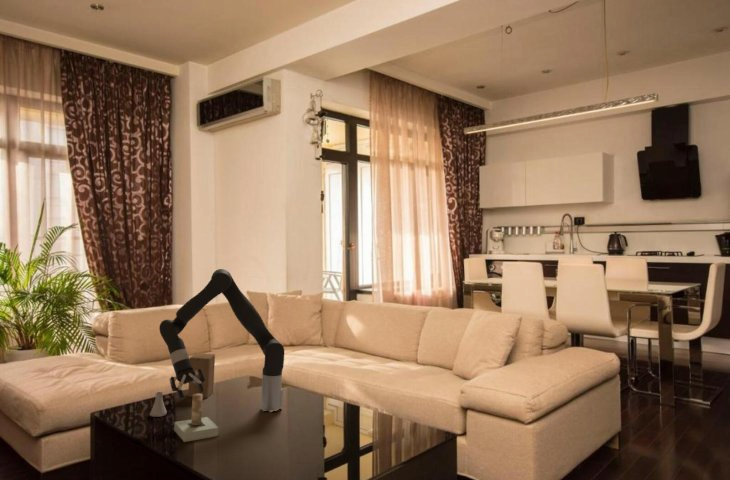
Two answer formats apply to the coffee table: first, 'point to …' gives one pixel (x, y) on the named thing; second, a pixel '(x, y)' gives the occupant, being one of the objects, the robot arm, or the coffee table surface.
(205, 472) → the coffee table surface
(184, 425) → the white flat square block
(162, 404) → the flask
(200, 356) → the wooden block
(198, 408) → the peg
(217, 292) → the robot arm
